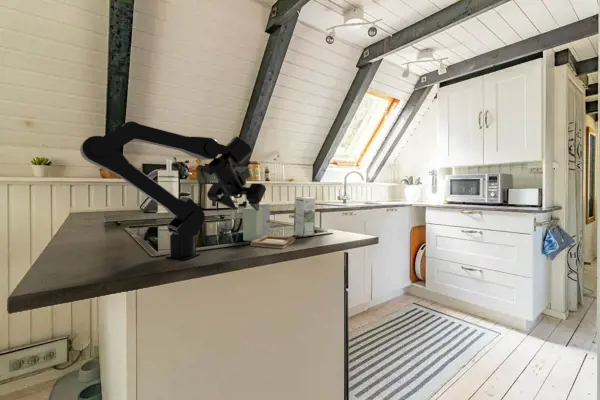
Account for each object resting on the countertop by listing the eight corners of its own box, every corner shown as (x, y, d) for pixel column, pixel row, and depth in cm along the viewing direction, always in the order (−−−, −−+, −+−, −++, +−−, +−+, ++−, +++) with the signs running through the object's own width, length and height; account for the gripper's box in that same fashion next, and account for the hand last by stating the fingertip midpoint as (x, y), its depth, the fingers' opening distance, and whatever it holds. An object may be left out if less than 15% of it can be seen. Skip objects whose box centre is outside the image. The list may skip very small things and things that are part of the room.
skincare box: (256, 237, 107) (257, 204, 106) (249, 236, 110) (249, 203, 109) (270, 235, 111) (270, 203, 110) (263, 234, 114) (263, 202, 113)
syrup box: (304, 233, 117) (305, 196, 116) (314, 235, 112) (315, 197, 111) (293, 234, 113) (293, 196, 112) (303, 237, 109) (304, 197, 108)
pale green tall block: (256, 241, 101) (256, 209, 100) (243, 240, 102) (243, 208, 101) (262, 238, 105) (262, 207, 105) (249, 237, 107) (249, 207, 106)
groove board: (283, 248, 91) (283, 244, 91) (250, 245, 94) (250, 241, 94) (295, 240, 102) (295, 237, 102) (265, 238, 106) (265, 235, 106)
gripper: (263, 156, 89) (279, 192, 100) (212, 157, 96) (232, 190, 107) (249, 183, 82) (268, 218, 93) (195, 182, 89) (219, 214, 100)
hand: (246, 209), depth 99 cm, fingers open, 9 cm apart
